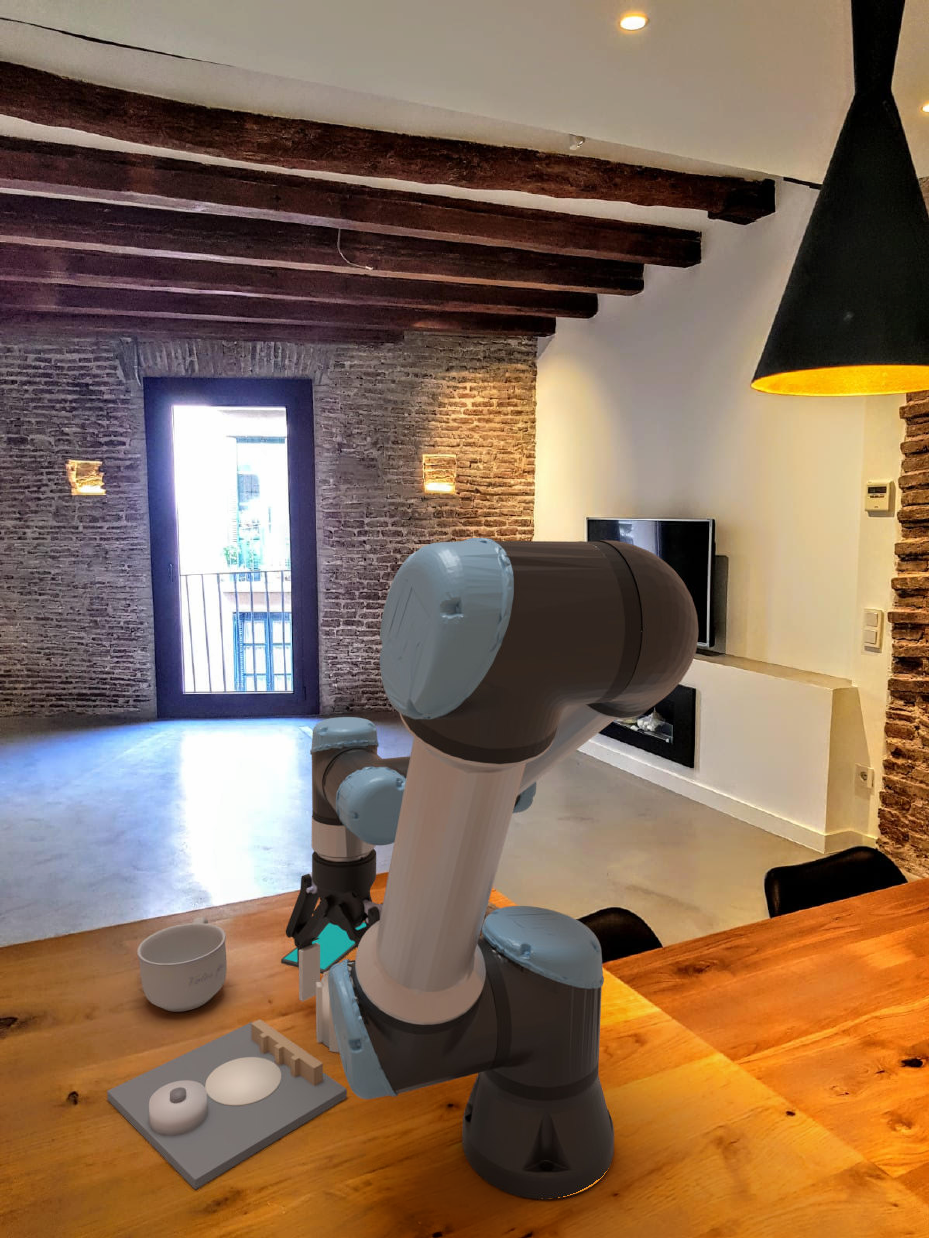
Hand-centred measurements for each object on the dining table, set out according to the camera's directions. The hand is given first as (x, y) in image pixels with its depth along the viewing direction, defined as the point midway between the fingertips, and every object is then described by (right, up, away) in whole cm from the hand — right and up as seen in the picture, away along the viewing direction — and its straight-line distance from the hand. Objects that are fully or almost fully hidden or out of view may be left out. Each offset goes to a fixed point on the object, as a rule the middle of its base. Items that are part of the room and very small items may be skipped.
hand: (344, 1018), depth 105 cm
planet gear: (0, -2, 0) cm, 2 cm away
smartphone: (-5, 0, +22) cm, 23 cm away
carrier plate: (-11, -3, -12) cm, 16 cm away
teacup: (-22, -1, +9) cm, 23 cm away
